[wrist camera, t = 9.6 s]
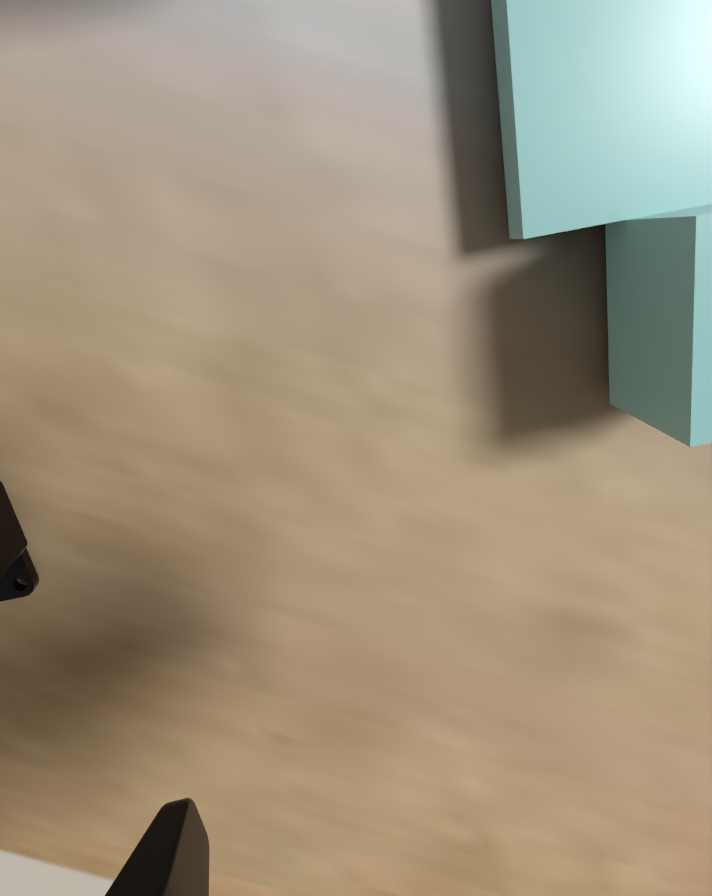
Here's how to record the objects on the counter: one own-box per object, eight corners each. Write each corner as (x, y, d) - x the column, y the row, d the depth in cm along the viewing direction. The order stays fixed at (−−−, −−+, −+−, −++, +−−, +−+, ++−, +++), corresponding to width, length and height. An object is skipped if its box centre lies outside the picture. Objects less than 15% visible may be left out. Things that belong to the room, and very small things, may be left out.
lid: (516, 413, 21) (582, 468, 16) (447, -405, 14) (529, -762, 9) (774, 363, 21) (918, 401, 16) (838, -469, 14) (1129, -853, 9)
